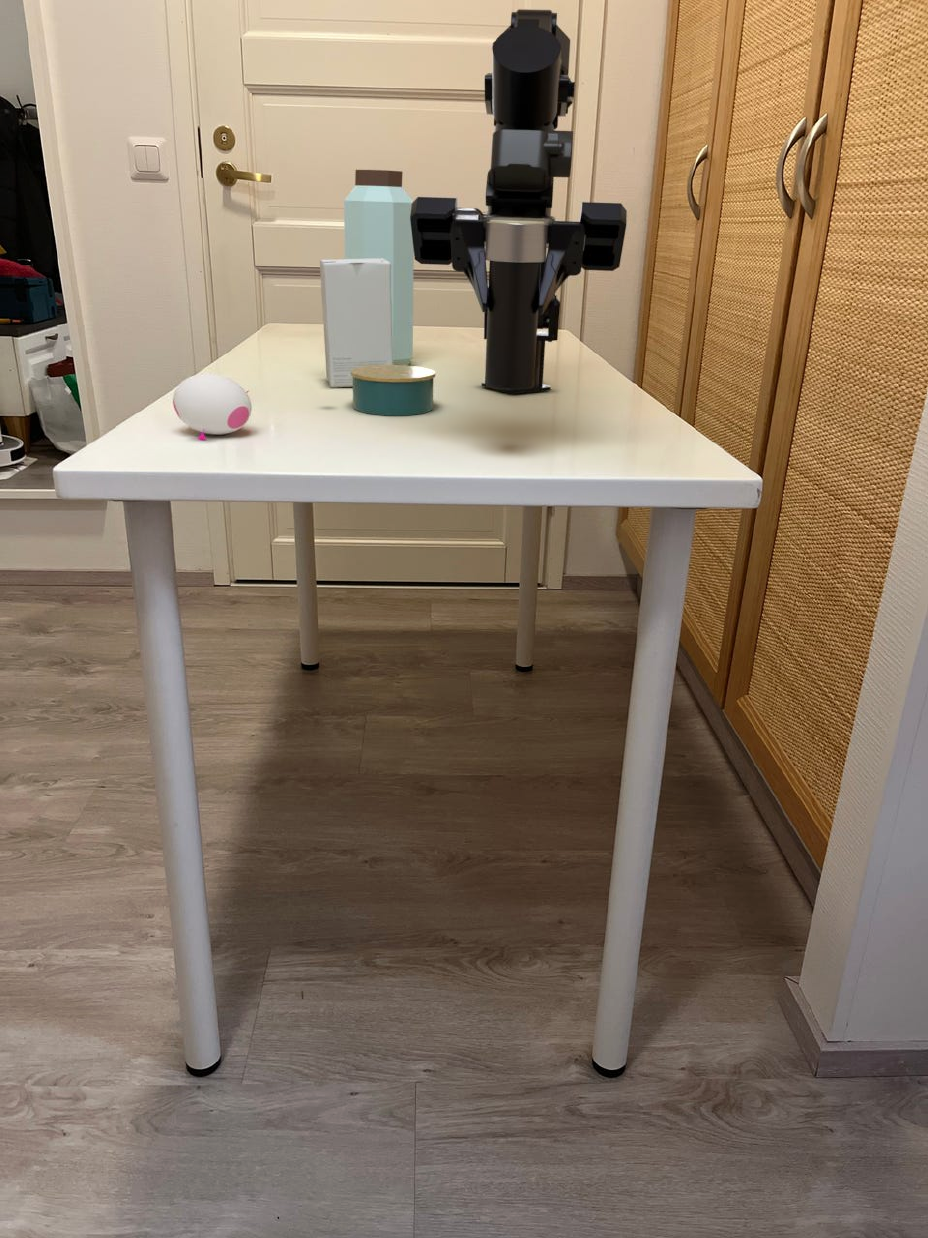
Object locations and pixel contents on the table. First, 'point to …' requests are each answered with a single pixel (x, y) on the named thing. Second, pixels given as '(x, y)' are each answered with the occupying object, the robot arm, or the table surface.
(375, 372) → the tin
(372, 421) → the table surface
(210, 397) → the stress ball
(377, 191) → the water bottle
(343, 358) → the cosmetic box
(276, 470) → the table surface
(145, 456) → the table surface
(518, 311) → the torch
